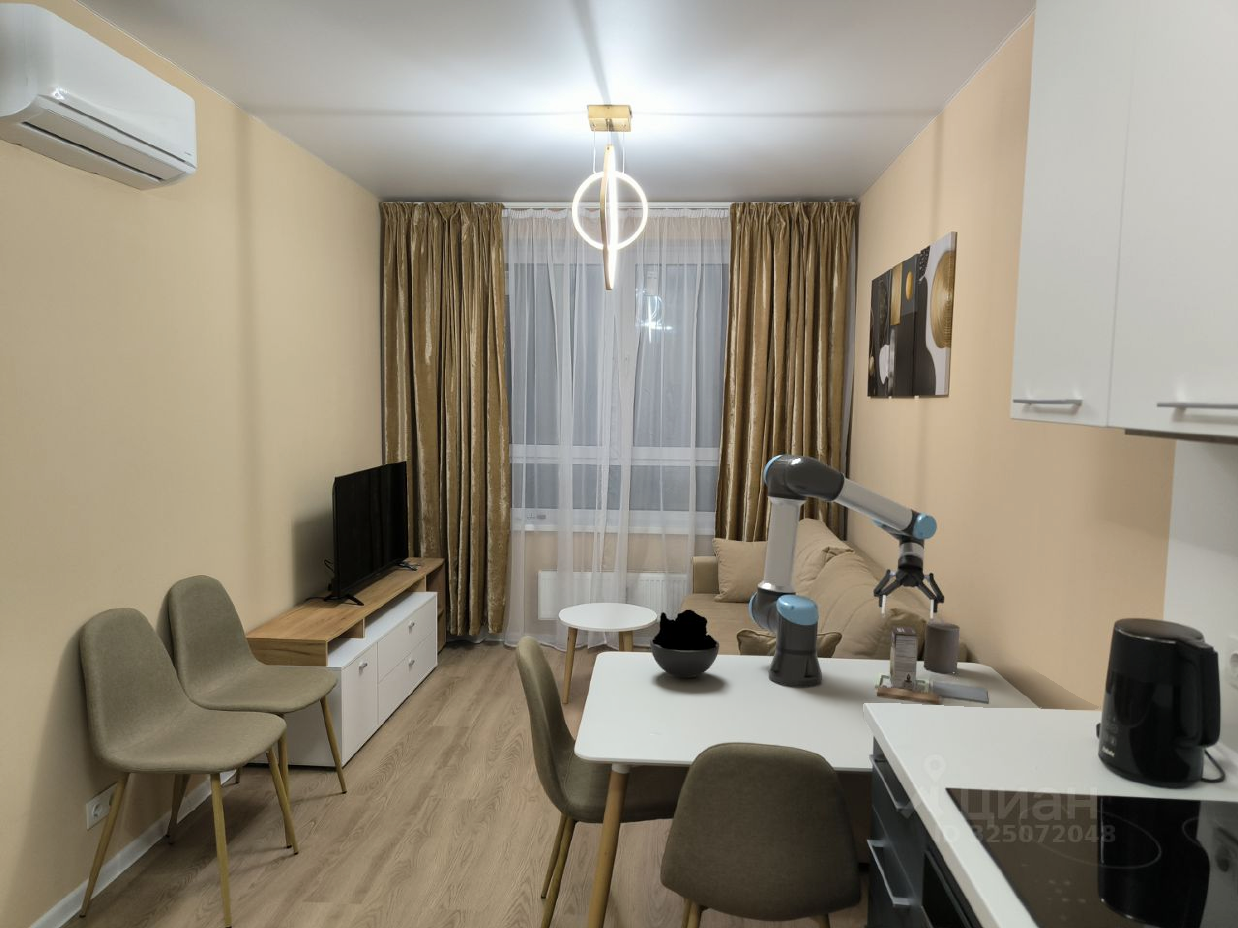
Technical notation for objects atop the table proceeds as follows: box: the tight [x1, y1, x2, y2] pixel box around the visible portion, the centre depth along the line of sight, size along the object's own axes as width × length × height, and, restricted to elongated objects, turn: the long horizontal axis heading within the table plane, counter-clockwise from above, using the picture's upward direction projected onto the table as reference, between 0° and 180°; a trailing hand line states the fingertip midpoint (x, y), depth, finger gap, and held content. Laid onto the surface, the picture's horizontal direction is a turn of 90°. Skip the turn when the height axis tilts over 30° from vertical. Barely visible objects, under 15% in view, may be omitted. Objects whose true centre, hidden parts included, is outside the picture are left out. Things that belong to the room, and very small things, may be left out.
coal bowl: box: [649, 609, 720, 679], centre depth 232 cm, size 20×20×19 cm
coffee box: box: [889, 626, 919, 691], centre depth 229 cm, size 9×6×16 cm
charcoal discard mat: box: [931, 681, 989, 704], centre depth 224 cm, size 14×12×1 cm
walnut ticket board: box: [876, 685, 941, 706], centre depth 220 cm, size 16×6×1 cm, turn 68°
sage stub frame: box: [874, 672, 930, 693], centre depth 230 cm, size 14×12×1 cm
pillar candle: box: [923, 620, 961, 674], centre depth 247 cm, size 10×10×15 cm
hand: (906, 618), depth 239 cm, fingers open, 13 cm apart
